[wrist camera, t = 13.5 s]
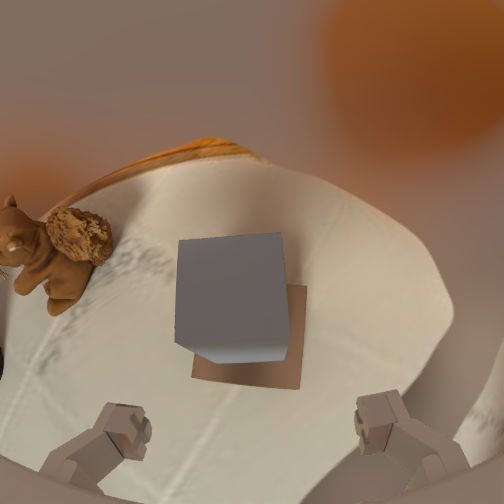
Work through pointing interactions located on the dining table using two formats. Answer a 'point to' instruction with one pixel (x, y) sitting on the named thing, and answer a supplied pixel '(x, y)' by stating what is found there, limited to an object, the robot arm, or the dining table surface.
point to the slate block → (232, 298)
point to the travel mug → (1, 363)
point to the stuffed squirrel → (53, 251)
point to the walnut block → (269, 372)
